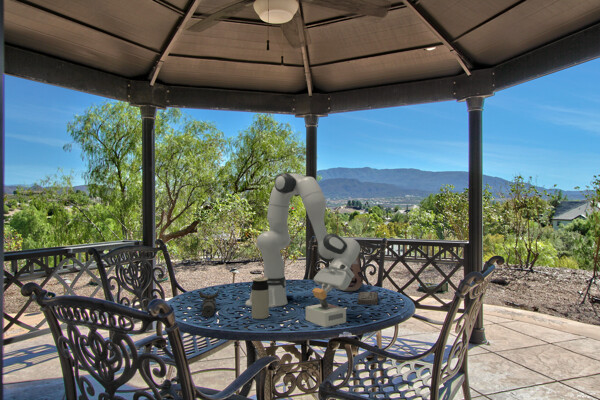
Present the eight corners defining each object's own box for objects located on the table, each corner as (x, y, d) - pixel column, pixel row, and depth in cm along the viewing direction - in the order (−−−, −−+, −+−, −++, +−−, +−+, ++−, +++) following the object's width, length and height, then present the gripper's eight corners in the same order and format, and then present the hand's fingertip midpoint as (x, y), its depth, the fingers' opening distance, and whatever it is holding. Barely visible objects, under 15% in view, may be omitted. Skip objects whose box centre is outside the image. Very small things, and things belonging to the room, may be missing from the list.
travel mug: (253, 320, 181) (253, 280, 181) (250, 315, 188) (250, 277, 189) (270, 318, 183) (270, 279, 183) (266, 314, 191) (266, 276, 191)
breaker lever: (322, 303, 181) (315, 287, 179) (331, 305, 176) (324, 289, 174) (319, 306, 180) (312, 290, 178) (327, 309, 175) (320, 292, 173)
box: (378, 297, 224) (378, 291, 224) (377, 305, 207) (377, 299, 207) (359, 297, 226) (359, 291, 226) (357, 305, 209) (357, 299, 209)
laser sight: (197, 318, 185) (197, 297, 185) (200, 306, 207) (200, 287, 207) (218, 317, 186) (218, 296, 187) (219, 305, 208) (219, 286, 209)
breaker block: (326, 315, 187) (326, 302, 187) (346, 322, 176) (346, 308, 176) (305, 319, 180) (305, 306, 180) (325, 327, 169) (325, 312, 169)
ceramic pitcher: (365, 293, 237) (365, 251, 237) (330, 293, 236) (330, 251, 237) (360, 287, 254) (360, 248, 255) (328, 287, 254) (327, 248, 254)
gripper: (320, 262, 190) (304, 285, 184) (349, 267, 174) (333, 293, 168) (327, 270, 193) (312, 294, 187) (357, 276, 176) (341, 301, 171)
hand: (322, 293), depth 177 cm, fingers closed, pressing on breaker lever
